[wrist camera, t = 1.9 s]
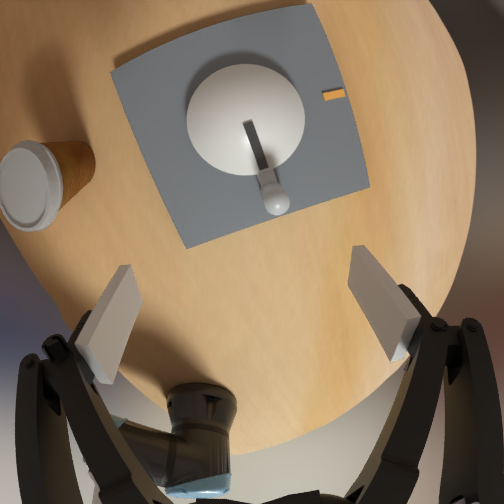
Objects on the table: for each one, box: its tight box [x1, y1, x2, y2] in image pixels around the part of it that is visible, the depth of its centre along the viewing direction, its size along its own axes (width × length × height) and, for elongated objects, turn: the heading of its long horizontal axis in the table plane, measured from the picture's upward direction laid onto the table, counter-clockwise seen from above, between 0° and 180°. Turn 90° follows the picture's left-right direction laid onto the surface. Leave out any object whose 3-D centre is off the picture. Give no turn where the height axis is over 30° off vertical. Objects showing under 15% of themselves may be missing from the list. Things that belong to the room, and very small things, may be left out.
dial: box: [187, 64, 305, 215], centre depth 25 cm, size 16×12×5 cm
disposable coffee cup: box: [0, 140, 95, 232], centre depth 24 cm, size 10×10×12 cm
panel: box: [110, 4, 370, 249], centre depth 27 cm, size 24×24×2 cm
